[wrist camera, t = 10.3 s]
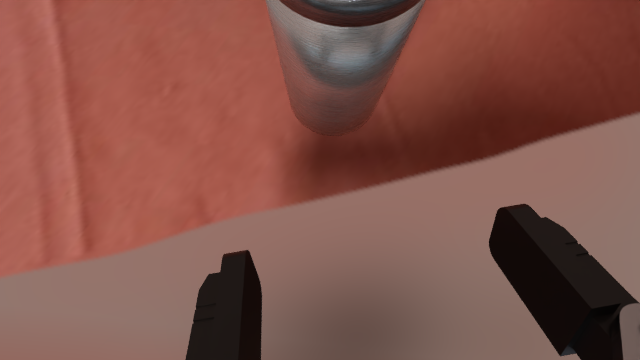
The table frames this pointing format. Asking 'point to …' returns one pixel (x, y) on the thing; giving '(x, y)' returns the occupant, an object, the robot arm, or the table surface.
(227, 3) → the table surface
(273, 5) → the salt shaker
